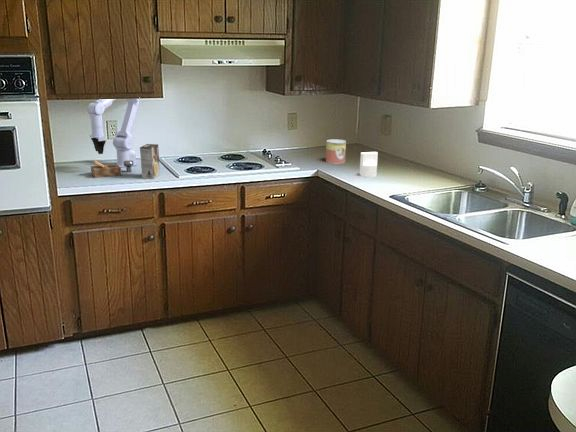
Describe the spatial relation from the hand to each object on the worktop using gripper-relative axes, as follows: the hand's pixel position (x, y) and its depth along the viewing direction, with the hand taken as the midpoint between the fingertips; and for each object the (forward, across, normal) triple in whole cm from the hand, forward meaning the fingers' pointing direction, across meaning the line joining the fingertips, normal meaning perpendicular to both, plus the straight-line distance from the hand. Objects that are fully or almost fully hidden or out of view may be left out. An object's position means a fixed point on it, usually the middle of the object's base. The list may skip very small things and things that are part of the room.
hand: (99, 152), depth 311 cm
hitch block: (+10, +9, +1) cm, 13 cm away
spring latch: (+4, +9, -2) cm, 10 cm away
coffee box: (+10, +22, +21) cm, 32 cm away
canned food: (+11, +29, +127) cm, 131 cm away
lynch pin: (+10, +8, +13) cm, 18 cm away
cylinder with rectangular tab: (+11, +64, +126) cm, 142 cm away
